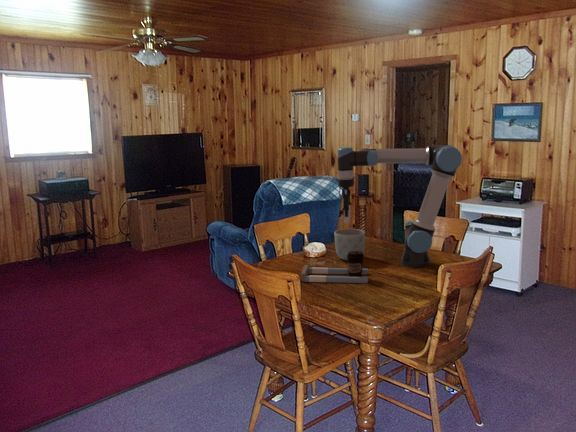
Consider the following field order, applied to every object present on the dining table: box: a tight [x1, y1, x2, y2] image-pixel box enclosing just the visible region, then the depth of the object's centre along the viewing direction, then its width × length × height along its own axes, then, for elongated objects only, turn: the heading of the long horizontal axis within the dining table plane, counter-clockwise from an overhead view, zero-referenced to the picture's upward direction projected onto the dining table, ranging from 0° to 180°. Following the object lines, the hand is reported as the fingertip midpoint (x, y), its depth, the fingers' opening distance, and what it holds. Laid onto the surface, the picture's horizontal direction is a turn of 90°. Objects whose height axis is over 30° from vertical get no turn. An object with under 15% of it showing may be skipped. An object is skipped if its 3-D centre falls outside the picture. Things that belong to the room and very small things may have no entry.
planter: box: [333, 228, 366, 261], centre depth 291 cm, size 17×17×15 cm
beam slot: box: [300, 264, 369, 284], centre depth 259 cm, size 32×15×4 cm, turn 81°
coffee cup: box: [346, 251, 365, 277], centre depth 257 cm, size 9×8×13 cm
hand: (347, 220), depth 267 cm, fingers open, 13 cm apart
